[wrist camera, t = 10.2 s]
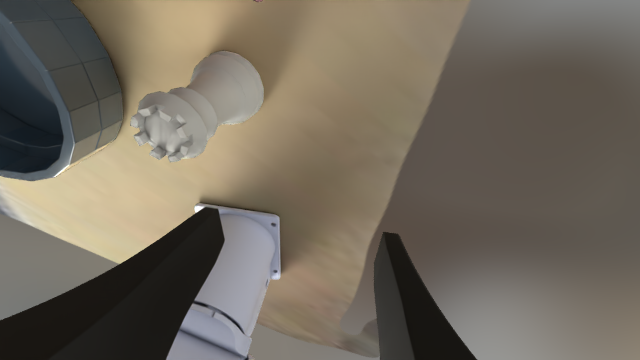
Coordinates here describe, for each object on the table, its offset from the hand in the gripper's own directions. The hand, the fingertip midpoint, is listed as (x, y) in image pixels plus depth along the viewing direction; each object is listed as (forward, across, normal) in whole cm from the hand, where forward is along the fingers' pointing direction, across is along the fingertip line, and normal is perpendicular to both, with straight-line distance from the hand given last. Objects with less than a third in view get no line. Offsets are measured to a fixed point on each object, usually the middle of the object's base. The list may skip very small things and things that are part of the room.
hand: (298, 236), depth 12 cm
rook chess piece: (+10, +6, -3) cm, 12 cm away
